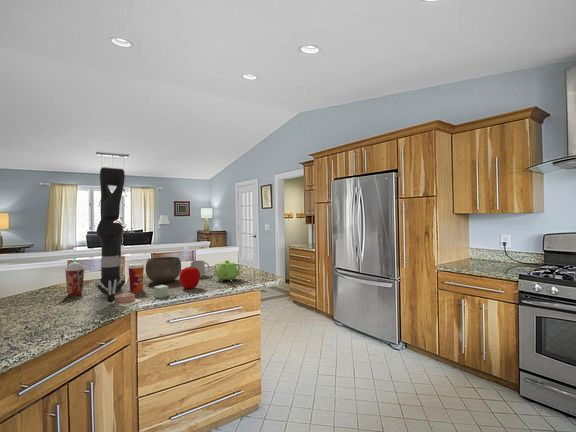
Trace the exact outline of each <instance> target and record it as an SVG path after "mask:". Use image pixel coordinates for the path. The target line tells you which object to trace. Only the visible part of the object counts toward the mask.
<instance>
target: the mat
mask: <svg viewBox="0 0 576 432" xmlns="http://www.w3.org/2000/svg"><path fill="white" fill-rule="evenodd" d="M138 302H142V300H141V299H137V298H135V300H134V301H132V302H128V303H114V302H111V304H112V303H113V304H115V305H118V306H121V307H123V306H126V305H130V304H133V303H134V304H135V303H138Z"/></svg>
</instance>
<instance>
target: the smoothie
mask: <svg viewBox="0 0 576 432" xmlns="http://www.w3.org/2000/svg"><path fill="white" fill-rule="evenodd" d="M64 271H65V280H66V281H65V282H66V284H65V285H66V293H67V294H68V296H70V297H72V296H80V295H81V294H82V293H83V291H84V277H85V276H84V274H85V267H84V265H83V264H82V263H81V262H77V261H76V256H73V261H72V262H70V263H69V264H68V265H67V266H66V268H65V269H64Z"/></svg>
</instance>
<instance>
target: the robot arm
mask: <svg viewBox="0 0 576 432" xmlns="http://www.w3.org/2000/svg"><path fill="white" fill-rule="evenodd" d="M125 178H126V175H125V170H124V169H123V168H119V167H111V166H103V167H101V168H100V171H99V184H100V185H99V186H100V221H99V222H98V224H97V228H96V235H97V236H98V237H99V243H100V245H101V259H100V276H101V277H100V281H99V282H98V283H96V284H95V285H94V286H95V287H96V288H97V290H99V292H100V293H102V294H103V295H106V301H107V302H108V303H111V304H112V302H114V300H115V296H116V295H115V294H116V293H118V292H119V291H120V290H121V288H122V287H123V286H124V285H125V283H126V280H124V279H122V234H123V230H124V227H123V224H121V223H120V222H115V221H118V220H119V218H120V214H121V213H120V212H121V200H122V196H123V192H124V188H125V187H124V185H125ZM109 186H115V189H114V190H113V192H112V191H111V190H110V188H109Z"/></svg>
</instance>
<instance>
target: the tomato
mask: <svg viewBox="0 0 576 432" xmlns="http://www.w3.org/2000/svg"><path fill="white" fill-rule="evenodd" d="M200 279H201V277H200V272H199V270H198V269H197V268H196V267H191V265H190V266H187V267H185V268H183V269H181V271H180V274H179V283H180V284H181V286H182V288H184V289H186V290H187V289H188V290H192V289H195V288H196V287H197V286H198V285H199V282H200Z"/></svg>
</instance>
